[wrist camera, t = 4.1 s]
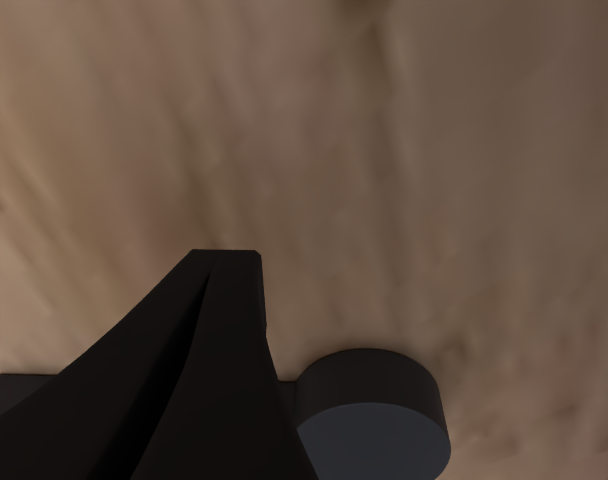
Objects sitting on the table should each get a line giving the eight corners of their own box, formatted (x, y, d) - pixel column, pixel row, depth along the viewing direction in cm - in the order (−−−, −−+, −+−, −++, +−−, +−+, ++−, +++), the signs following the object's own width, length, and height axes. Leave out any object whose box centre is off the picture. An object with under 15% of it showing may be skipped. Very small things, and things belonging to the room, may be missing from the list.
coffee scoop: (28, 432, 19) (-1, 484, 17) (-20, 338, 16) (-62, 390, 14) (429, 446, 18) (439, 502, 16) (449, 350, 15) (463, 405, 14)
